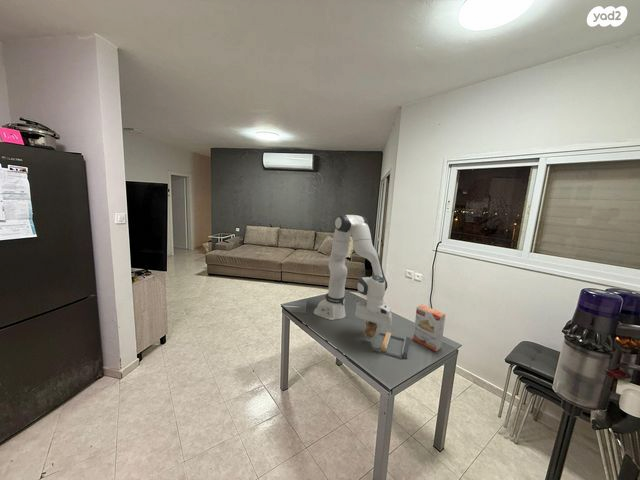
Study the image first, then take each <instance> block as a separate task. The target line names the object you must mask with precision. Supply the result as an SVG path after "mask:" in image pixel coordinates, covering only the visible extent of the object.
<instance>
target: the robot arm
mask: <svg viewBox="0 0 640 480" xmlns="http://www.w3.org/2000/svg"><path fill="white" fill-rule="evenodd" d="M334 226H335V229H334V232H333V237H332V246H331V251H330V256H329V260H328V270H329V272H330V273H329V274H330V275H329V282H328V292H327V293H326V295H325V296H324V299H323V300H320V302H318V304H317V307H315V308H314V309H313V314H314V315H315V316H318V317H320V318H323V319H327V320H329V321H334V320H342V319H344V318H346V309H345V302H346V296H345V293H346V292H345V291H346V290H345V287H346V282H347V276H348V267H347V266H346V260H347V256H348V254H349V248H350V241H351V237H352V248H353V251H354V252H355V254H356V255H358V256H360V257H362V258H365V259H367V261H369V262H370V263H371V264H370V265H371V267H372V271H373V275H371V276H370V277H369V276H363V277H360V278H359V279H358V280H357V281H356V290H357V292H359V294H360V295H363V296H366V297H367V298H366V302H363V301H357V302H356V303H355V312H354V317H355V318H358V319H361V320H363V323H364V325H365V326H364V328H366V325H367V323H368V322H369V321H370V322H373V323H376V324H377V327H375V331H376V332H378V331H379V328H380V326H382V327H385V328H390V327H391V326H392V323H393V314H392V307H391V306H390V305H388V304H386V303H384V296H385V293H386V291H387V289H388V281H387V279H386V277H385V274H384V270H383V266H382V261H381V258H380V255H379V253H378V251H377V250H376V249H375V247H374V245H373V240H372V234H371V230H370V227H369V221H368V219H367V218H366V217H365V216H363V215H356V214H339V215H336V218H335V220H334Z"/></svg>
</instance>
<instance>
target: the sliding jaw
mask: <svg viewBox="0 0 640 480" xmlns="http://www.w3.org/2000/svg"><path fill="white" fill-rule="evenodd" d="M385 334H386V335H385V336H384V338H383V341H382V344H381V347H380V348H381V351H384V352H387V350H388V347H389V343H390V341H391V339H392V338H391V335H392V332H389V331H386V332H385Z"/></svg>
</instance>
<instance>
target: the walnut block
mask: <svg viewBox="0 0 640 480" xmlns="http://www.w3.org/2000/svg"><path fill="white" fill-rule="evenodd" d="M375 327H377V324H376V323H373V322H370V321H367V325H366V327H365V334H364V335H365V337H367V338H370V339H373V338H374V336H375V335H376V333H377V331H375Z"/></svg>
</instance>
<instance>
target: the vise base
mask: <svg viewBox="0 0 640 480" xmlns="http://www.w3.org/2000/svg"><path fill="white" fill-rule="evenodd" d="M379 335H380V336H383V337H385V335H386V333H383V332H380V333H379ZM390 339H395V340H399V341H403V346H402V351H401V355H398V354H395V353H391V352H387V351H385V352H384V351H381V350H380V349H377V348H373V349H372V350H373V352H375V353H378V354H381V355H385V356H388V357H393V358H396V359H399V360H403V359H406V360H407V359H408V354H409V347H410V340H411V337H410V336H405V337H404V338H403V337H400V336H395V335H392V334H391V338H390Z"/></svg>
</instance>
